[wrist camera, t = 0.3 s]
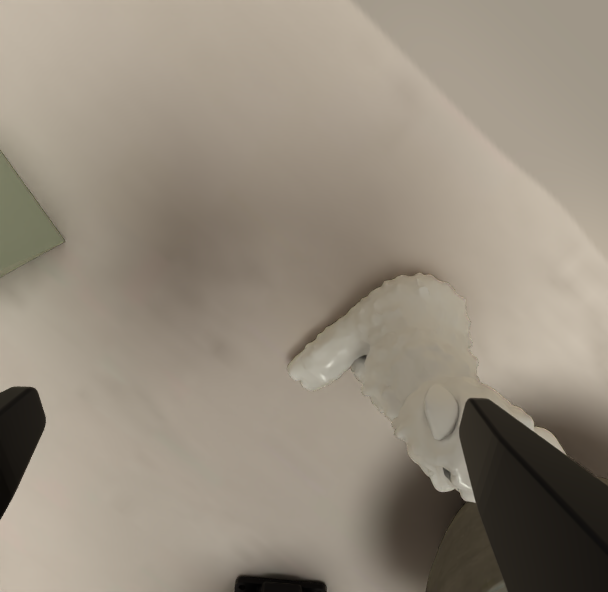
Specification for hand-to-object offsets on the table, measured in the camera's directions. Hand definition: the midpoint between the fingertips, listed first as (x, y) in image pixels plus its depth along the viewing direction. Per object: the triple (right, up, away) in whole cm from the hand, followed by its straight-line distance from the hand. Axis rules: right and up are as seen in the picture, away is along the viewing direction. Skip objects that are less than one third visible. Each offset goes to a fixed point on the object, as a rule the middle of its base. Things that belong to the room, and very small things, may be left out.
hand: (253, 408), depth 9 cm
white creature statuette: (+6, 0, +15) cm, 16 cm away
